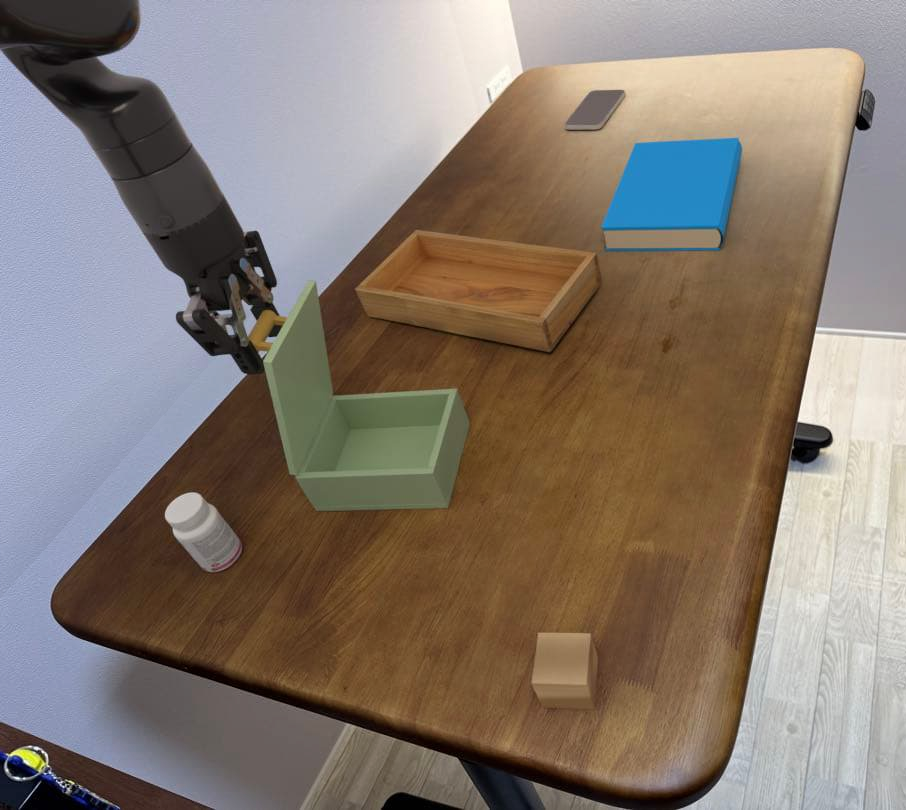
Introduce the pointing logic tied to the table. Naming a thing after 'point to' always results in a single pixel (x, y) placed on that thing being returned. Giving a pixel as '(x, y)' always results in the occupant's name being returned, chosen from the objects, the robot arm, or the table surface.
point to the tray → (482, 288)
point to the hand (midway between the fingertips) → (266, 352)
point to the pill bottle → (203, 532)
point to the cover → (296, 372)
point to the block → (565, 670)
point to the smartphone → (595, 109)
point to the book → (674, 196)
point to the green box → (386, 451)
